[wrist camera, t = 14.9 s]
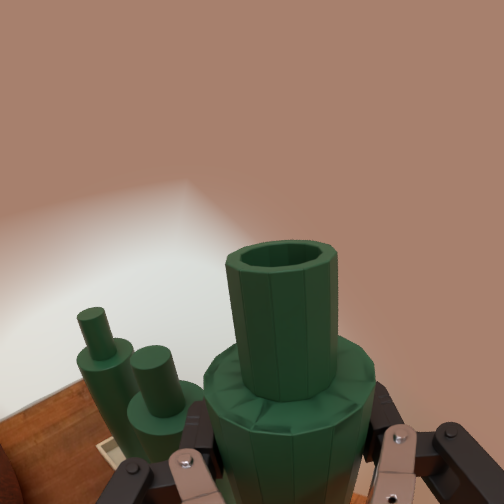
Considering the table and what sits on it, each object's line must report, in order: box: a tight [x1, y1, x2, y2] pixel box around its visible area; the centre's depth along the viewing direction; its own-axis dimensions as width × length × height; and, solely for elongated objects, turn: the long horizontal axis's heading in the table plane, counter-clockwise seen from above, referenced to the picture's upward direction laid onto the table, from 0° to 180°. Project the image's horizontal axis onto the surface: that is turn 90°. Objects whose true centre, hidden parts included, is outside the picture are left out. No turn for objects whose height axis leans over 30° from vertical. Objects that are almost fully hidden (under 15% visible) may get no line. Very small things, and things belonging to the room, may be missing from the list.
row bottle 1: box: [77, 307, 151, 464], centre depth 26 cm, size 6×6×18 cm
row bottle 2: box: [127, 345, 236, 504], centre depth 20 cm, size 6×6×18 cm
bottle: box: [204, 240, 376, 504], centre depth 11 cm, size 6×6×18 cm
